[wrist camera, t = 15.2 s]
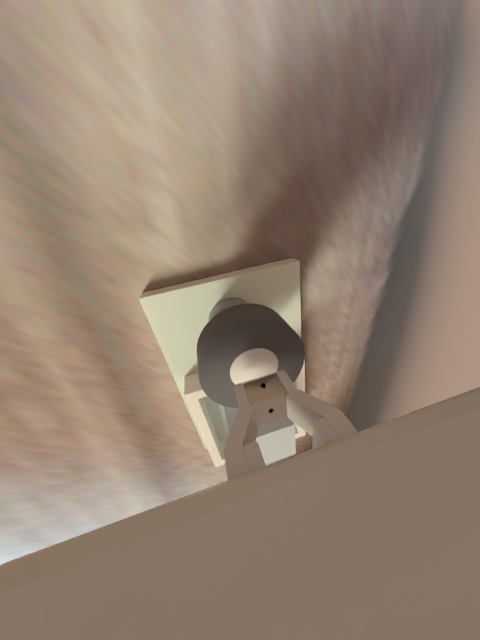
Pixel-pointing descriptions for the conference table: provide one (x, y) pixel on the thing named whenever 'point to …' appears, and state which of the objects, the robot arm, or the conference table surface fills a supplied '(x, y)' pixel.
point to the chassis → (197, 310)
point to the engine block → (270, 437)
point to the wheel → (245, 350)
